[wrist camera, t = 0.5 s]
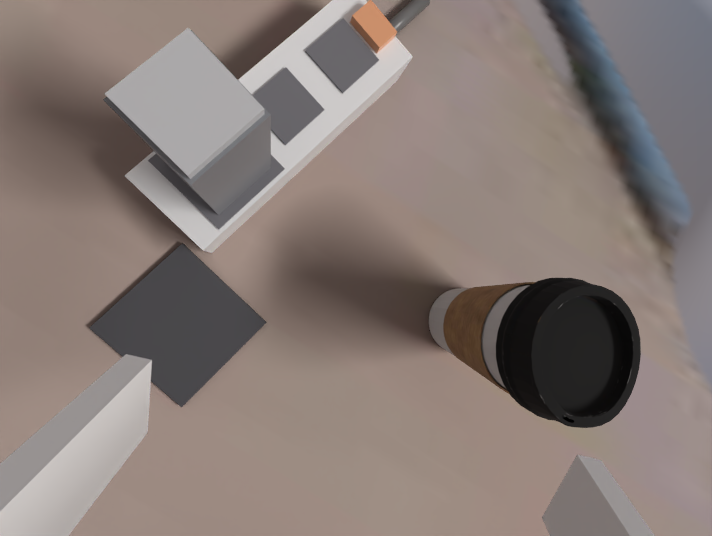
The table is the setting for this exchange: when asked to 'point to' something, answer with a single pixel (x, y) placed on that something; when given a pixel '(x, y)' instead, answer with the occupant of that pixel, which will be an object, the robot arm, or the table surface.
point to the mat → (180, 324)
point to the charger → (197, 119)
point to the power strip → (295, 108)
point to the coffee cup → (545, 345)
